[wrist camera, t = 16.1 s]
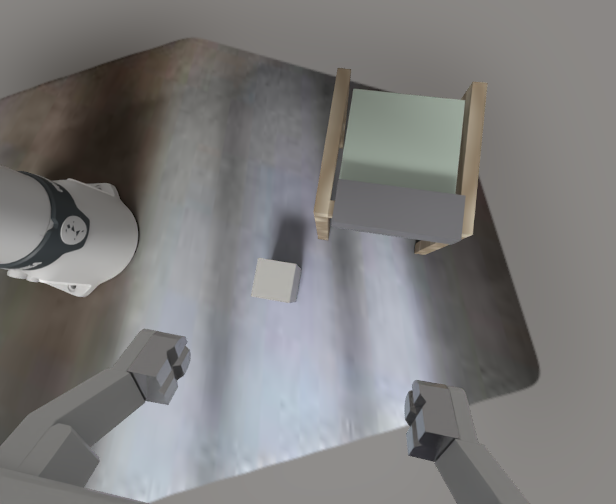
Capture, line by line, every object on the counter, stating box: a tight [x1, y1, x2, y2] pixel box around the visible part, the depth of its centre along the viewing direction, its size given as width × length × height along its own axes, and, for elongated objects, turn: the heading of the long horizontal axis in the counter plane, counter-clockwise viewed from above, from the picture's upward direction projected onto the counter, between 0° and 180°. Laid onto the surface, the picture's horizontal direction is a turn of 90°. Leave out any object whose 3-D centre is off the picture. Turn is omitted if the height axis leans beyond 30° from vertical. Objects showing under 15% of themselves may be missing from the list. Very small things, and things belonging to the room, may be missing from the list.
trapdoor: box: [331, 89, 466, 245], centre depth 31 cm, size 12×16×4 cm
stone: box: [251, 258, 302, 303], centre depth 43 cm, size 5×5×8 cm
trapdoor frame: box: [314, 68, 487, 255], centre depth 40 cm, size 16×17×16 cm
